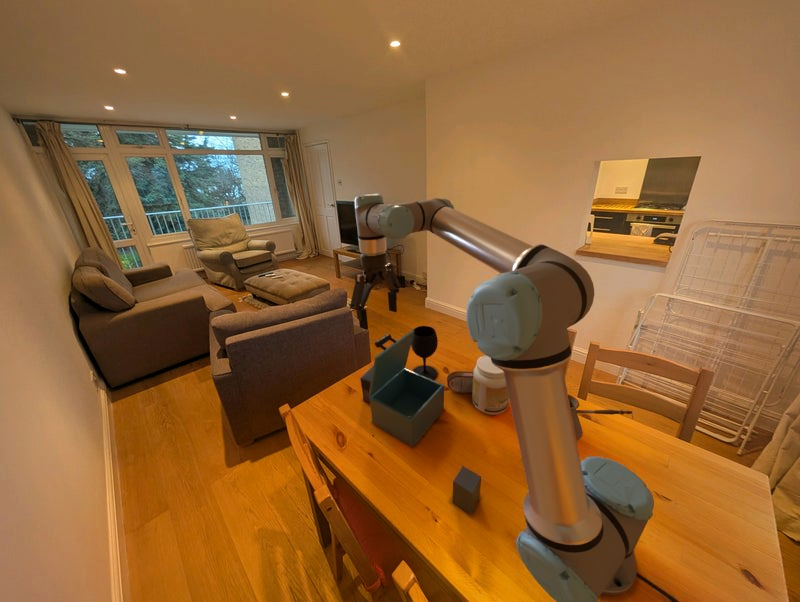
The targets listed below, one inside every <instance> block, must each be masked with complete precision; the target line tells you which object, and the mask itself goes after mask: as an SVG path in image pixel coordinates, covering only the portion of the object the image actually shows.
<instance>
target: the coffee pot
mask: <svg viewBox="0 0 800 602" xmlns="http://www.w3.org/2000/svg"><path fill="white" fill-rule="evenodd" d="M568 398H569V403H570V409H571V414H572V419H573V425H574V430H575V435H576V441H577V442H578V441H580V440H581V439H582V437H583V433H584V432H583V427H582V425H581V421H580V418H579V415H578V414H596V415H611V416H613V415H622V416H623V415H625V414H626V415H631V418H632V420H634V415H633V410H623V409H620V410H617V409H594V410H589V409H588V410H587V409H579V407H580V401H579V400H578V398H576V397H575V396H573V395H571V394H570V393H568Z"/></svg>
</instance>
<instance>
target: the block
mask: <svg viewBox="0 0 800 602" xmlns="http://www.w3.org/2000/svg"><path fill="white" fill-rule="evenodd" d="M481 487H482V476H481V475H479V474H477V472H474V471H473V470H471V469H470V468H467V467H466V466H464V465H462V466H461V468H460V469H459V471H458V473H457V474H456V476H455V478H454V479H453V480H452V503H453V504H454V505H456V506H457V507H458V508H460V509H461V510H463V511H464V512H466V513H467V514H469V515H471V516H472V513H473V511H474V509H475V508H476V506H477V503H478V502H479V500H480V495H481Z"/></svg>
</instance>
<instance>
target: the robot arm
mask: <svg viewBox="0 0 800 602" xmlns="http://www.w3.org/2000/svg"><path fill="white" fill-rule="evenodd" d="M383 198H384V197H383V196H382V195H381V194H380V193H366V194H359V195H356V196H355V198H354V213H355V220H356V227H357V239H358V248H359V253H360V255H359V257H360V265H361V268H362V269H363V273H361V274H358V273H356V274H355V275H354V281H355V283H354V287H353V292H352V295H351V300H350V305H349V309H351V310H353V311H356V318H357V320H358V323H359V328H360V329H363V330H365V331H367V330H369V324H368V322H369V321H368V314H367V308H366V304H367V301H368V299H369V297H370V294H371V293H372V290H373V289H374V287H375V286H377V285H379V284H383V285H384V286H385V287H386V289H388V291H387V299H388V300H387V301H388V311H389V312H392V313H397V312H398V309H397V308H398V306H397V301H398V294H399V293H400V289H402V285H401V283H400V281H399V279H398V276H397V274H396V272H395V269H394V264H393V263H391V262H388V253H387V238H388V239H392V240H393V239H397V240H402V239H405V238H407V237H408V236H409V235H410V234H413V233H420V232H426V231H427V232H430V233H431V234H434V235H435V236H437V237H438V238H440V239H442V240H443V241H445V242H447V243H449V244H450V245H452V246H454V247H455V248H457V249H459V250H460V251H461V252H463V253H465V254H467V255H468V256H470V257H472V258H474V259H476V260H477V261H478V262H480V263H482V264H483V265H485V266H487V267H488V268H490V269H492V270H494V271H496V272H497V273H499V274H497V275H495V276H493V277H492V278H490V279H487V280H485V281H483V282H482V283H480V284H479V285H478V286H477V287H476V288H475V289H474V291H473V292H472V295H471V296H470V298H469V299H468V303H467V306H466V325H467V329H468V333H469V335H470V337H471V339H472V341H473V342H474V343H477V349H478V350H479V351H480V352H481V353H482V354H484V356H485V355H487V356H488V357H490V358H491V361H492V363H493V364H494V365H495V366H496V367H498V368H500V369H501V370H503V371H504V376H505V381H506V386H507V390H508V395H509V404H510V409H511V414H512V419H513V423H514V427H515V432H516V437H517V441H518V447H519V452H520V456H521V461H522V465H523V470H524V471H523V472H524V475H525V479H526V480H525V481H526V484H527V490H528V492H527V493H526V495H525V496H524V499H523V504H522V505H523V506H522V510H523V514H524V519H525V523H526V527H525V529H524V530H521V531H520V532H519V534H518V536H517V538H516V539H515V546H516V550H517V553H518V556H519V558H520V560H521V561H522V563H523V564H524V566H525V567H526V569H527V570H528V572H529V574H530V575H531V576H532V578H533V579H534V580H535V581H536V583H538V585H539V586H540V587H541V588H542V589H543V590H544V592H546V593H547V595H548V596H550V598H551V599H553V600H554V601H555V602H599V598H600V596H606V597H620V596H623V595H624V594H626V593H627V592H629V591H630V590H631V589H632V587H633V585H634V583H635V580H636V579H639V580H640V581H642V582H644V583H645V584H647V585H648V586H649V587H651V588H652V589H654V590H656V591H657V592H658V593H660V594H661V595H663V596H664V597H666V598H667V599H668V600H670V601H671V602H680V601H679V600H678V599H676V598H675V597H674V596H673V595H671V594H669V593H668V592H667V591H665V590H664V589H662V588H661V587H659V586H658V585H656V584H655V583H653V582H652V581H651V580H649V579H647V578H646V577H645V576H643V575H641V574H640V573H639V572H638V566H637V560H636V555H635V549H636V547H637V545H638V542H639V540H640V538H641V536H642V534H643V532H644V530H645V528H646V526H647V524H648V522H649V521H650V520H651V519H652V518H653V517H654V512H653V511H654V508H655V499H654V496H653V493H652V491H651V490H650V489H649V488H648V486H647V484H646V483H645V481H643V480H642V478H640V476H639V475H638V474H636V472H634V471H632V469H630V468H628V467H627V466H625V465H624V464H622V463H620V462H617V461H616V460H614V459H610V458H609V457H608V458H607V457H605V458H604V457H603V456H596V455H594V456H592V455H591V456H588V457H585V458H583V459H582V460H581V457H580V453H579V446H578V441H576V435H575V430H574V425H573V419H572V414H571V409H570V403H569V398H568V394H569V393H568V388H567V383H566V378H565V371H564V367H563V366H564V365H565V363H567V362H568V361H569V360H570V359H571V357H572V354H573V353H572V348H571V340H570V336H569V331H568V329H569V328H570V327H572V326H574V325H576V324H578V323H579V322H581V320H583V319H584V318H585V317H586V316H587V314H588V313H589V312H590V310H591V308H592V307H593V303H594V299H595V287H594V286H595V285H594V282H593V280H592V277H591V276H590V273H589V272H588V271H587V270H586V269H585V268H584V267H583V265H582V264H581V263H579V262H578V261H576V260H575V259H573V258H572V257H571V256H568V255H566V254H564V253H563V252H561V251H558V250H557V249H554V248H552V247H550V246H548V245H545V244H543V243H540V244H537V245H531V244H530V243H527V242H525V241H523V240H521V239H519V238H517V237H515V236H512V235H510V234H508V233H506V232H504V231H502V230H500V229H497V228H496V227H493V226H491V225H489V224H487V223H484V222H482V221H480V220H478V219H477V218H474V217H471V216H469V215H467V214H465V213H463V212H460V211H459V210H456V209H455V207H454V205H453V204H452V202H451V201H450V200H449V199H447V198H439V197H437V198H432V199H424V200H416V201H407V202H399V203H389V204H388V203H385V202H384V199H383Z"/></svg>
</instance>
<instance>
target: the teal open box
mask: <svg viewBox="0 0 800 602" xmlns="http://www.w3.org/2000/svg"><path fill="white" fill-rule="evenodd" d="M369 404H370V411H371V420H372V424H374V425H375V426H377V427H378V428H380V429H381V430H384V431H385V432H386V433H388V434H390V435H392V436H393V437H395V438H396V439H398V440H400V441H402V442H403V443H405V444H406V445H408V446H410V447H411V448H414V447H415V446H416V445H417V443H418V442H419V441H420V440H421V439H422V437H423V436H424V434H426V432H427V431H428V430H429V429H430V427H431V426H432V425H433V424H434V422H435V421H436V420H437V419H438V418H439V416H440V415H441V414H442V413H443V412H444V410H445V385H444V384H443V383H441V382H438V381H436V380H435V379H434V380H431V379H429V378H427V377H424V376H422V375H420V374H417V373H415V372H413V370H410V369H408V368H406V367H405V368H404V369H403V370H402V371H400V372H399V373H398V374H397V375H396V376H395V377H393V378H392V379H391V380H390V381H389V382H387V383H386V384H385V385H384V386H383V387H382V388H380V389H379V390H378V391H377V392H376V393H375V394H373V395H372V396H371V397H370V403H369Z"/></svg>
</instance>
